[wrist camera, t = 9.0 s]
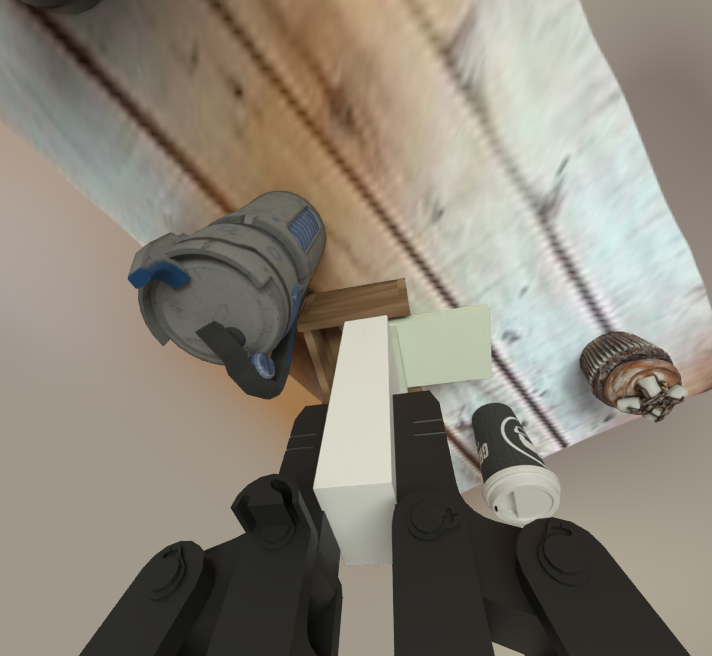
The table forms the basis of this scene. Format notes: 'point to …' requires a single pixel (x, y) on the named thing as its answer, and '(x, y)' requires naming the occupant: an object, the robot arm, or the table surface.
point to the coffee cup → (512, 468)
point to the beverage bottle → (235, 288)
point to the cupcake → (632, 375)
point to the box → (338, 308)
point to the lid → (442, 346)
